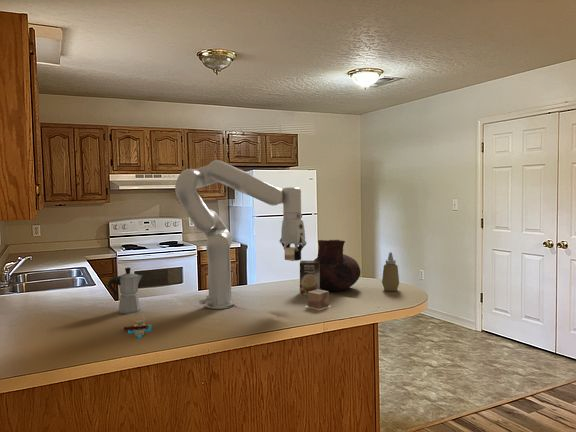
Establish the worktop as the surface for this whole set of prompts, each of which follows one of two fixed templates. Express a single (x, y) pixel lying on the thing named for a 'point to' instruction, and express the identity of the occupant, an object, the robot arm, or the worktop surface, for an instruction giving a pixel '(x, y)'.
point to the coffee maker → (127, 291)
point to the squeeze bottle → (390, 274)
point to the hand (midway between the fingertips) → (292, 259)
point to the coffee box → (309, 276)
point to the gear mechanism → (140, 326)
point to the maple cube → (290, 253)
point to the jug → (336, 266)
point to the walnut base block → (318, 299)
